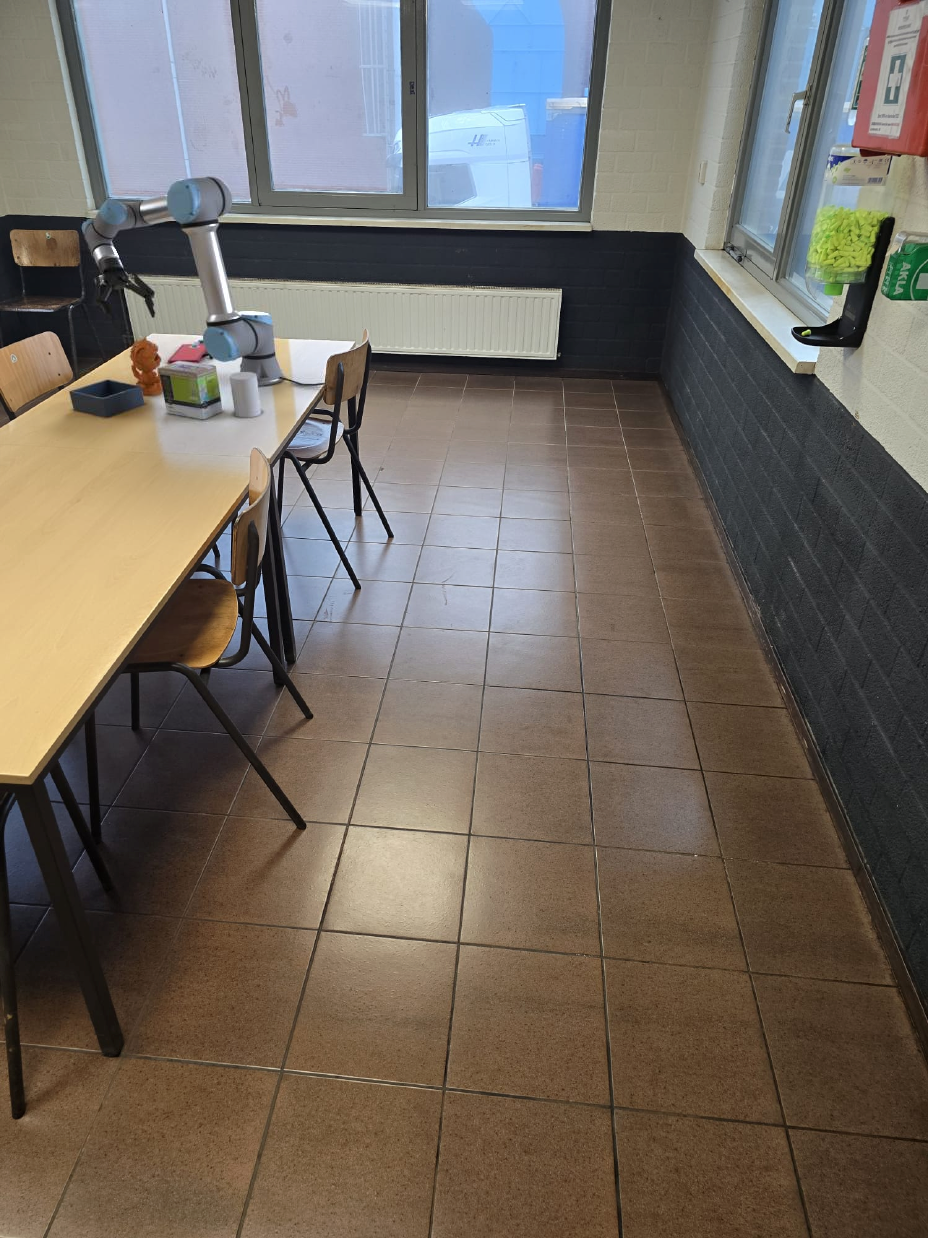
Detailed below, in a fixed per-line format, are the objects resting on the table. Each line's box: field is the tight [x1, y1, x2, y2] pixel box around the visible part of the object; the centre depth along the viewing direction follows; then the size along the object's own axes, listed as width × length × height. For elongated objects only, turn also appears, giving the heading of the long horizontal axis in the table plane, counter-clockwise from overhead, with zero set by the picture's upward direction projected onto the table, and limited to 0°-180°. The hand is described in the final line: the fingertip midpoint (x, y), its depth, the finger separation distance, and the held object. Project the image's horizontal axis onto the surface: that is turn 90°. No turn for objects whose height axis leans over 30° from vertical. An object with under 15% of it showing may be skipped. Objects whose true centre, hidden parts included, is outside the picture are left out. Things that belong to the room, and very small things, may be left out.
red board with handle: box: [167, 339, 214, 364], centre depth 326 cm, size 30×3×15 cm
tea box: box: [158, 361, 223, 420], centre depth 263 cm, size 15×10×15 cm, turn 65°
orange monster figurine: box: [129, 336, 163, 396], centre depth 279 cm, size 11×11×18 cm
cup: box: [229, 371, 262, 418], centre depth 264 cm, size 8×8×12 cm
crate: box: [68, 378, 146, 419], centre depth 269 cm, size 15×15×6 cm
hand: (133, 317), depth 281 cm, fingers open, 13 cm apart
